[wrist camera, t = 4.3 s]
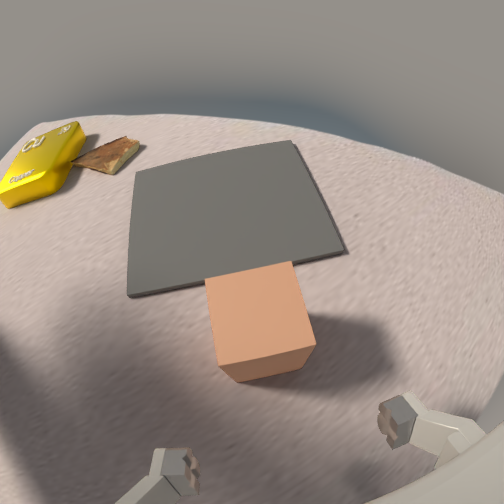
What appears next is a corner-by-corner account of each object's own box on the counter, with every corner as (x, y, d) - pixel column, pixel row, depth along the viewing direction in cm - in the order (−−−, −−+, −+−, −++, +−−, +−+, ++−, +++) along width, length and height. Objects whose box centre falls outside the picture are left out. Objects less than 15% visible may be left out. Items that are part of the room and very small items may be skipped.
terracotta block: (237, 382, 20) (218, 365, 13) (225, 323, 23) (204, 278, 16) (301, 368, 20) (316, 344, 14) (285, 310, 23) (291, 260, 16)
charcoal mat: (129, 297, 24) (127, 295, 24) (137, 175, 33) (135, 172, 33) (342, 253, 25) (344, 249, 25) (290, 143, 34) (290, 140, 34)
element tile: (4, 212, 35) (-10, 194, 30) (34, 156, 43) (24, 139, 39) (61, 194, 34) (46, 171, 30) (90, 136, 42) (80, 115, 38)
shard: (73, 168, 38) (69, 160, 36) (104, 138, 41) (100, 130, 40) (113, 180, 34) (108, 170, 33) (147, 145, 38) (143, 136, 36)
